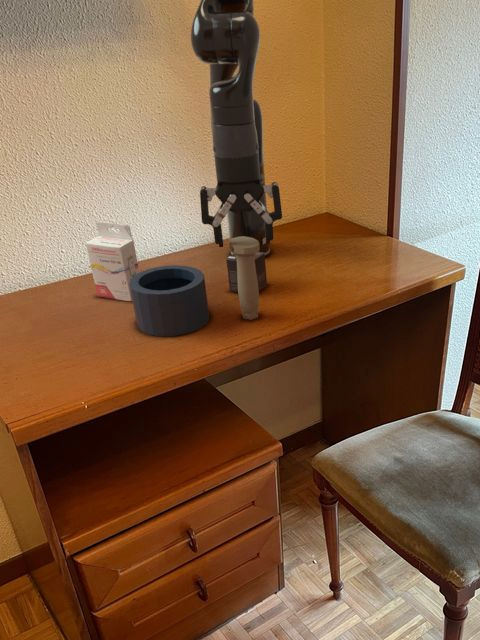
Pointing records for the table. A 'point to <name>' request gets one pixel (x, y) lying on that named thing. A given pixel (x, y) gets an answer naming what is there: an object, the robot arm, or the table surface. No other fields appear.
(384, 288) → the table surface
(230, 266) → the box
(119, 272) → the ink cartridge box
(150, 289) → the jar
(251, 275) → the handle
